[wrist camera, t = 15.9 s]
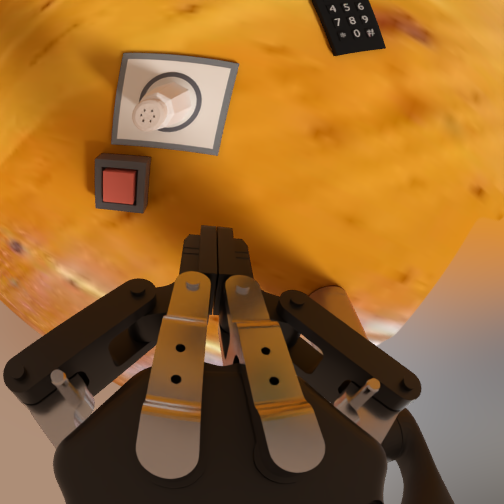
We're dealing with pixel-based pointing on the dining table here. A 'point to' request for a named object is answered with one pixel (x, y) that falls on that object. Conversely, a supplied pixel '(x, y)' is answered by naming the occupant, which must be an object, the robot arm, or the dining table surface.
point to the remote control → (349, 25)
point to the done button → (119, 185)
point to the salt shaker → (162, 107)
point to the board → (201, 94)
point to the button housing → (127, 163)
